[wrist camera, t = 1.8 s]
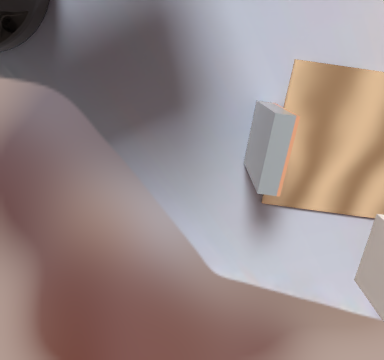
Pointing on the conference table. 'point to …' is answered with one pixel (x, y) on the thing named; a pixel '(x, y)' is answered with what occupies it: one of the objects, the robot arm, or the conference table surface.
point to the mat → (335, 141)
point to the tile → (270, 146)
